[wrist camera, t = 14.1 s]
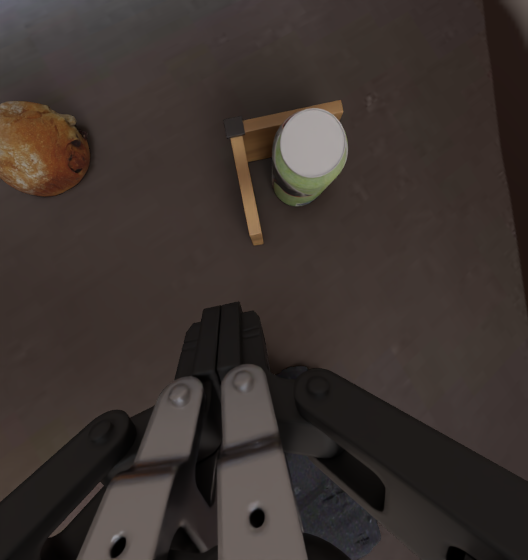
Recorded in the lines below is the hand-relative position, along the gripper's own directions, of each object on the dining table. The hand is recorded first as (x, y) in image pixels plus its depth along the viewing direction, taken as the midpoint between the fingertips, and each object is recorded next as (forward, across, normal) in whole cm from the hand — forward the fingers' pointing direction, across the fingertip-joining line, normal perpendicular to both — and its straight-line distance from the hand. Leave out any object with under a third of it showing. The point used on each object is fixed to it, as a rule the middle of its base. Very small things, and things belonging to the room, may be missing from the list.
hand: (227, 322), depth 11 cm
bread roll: (+29, +20, -9) cm, 36 cm away
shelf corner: (+23, -7, -1) cm, 24 cm away
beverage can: (+23, -8, 0) cm, 24 cm away
